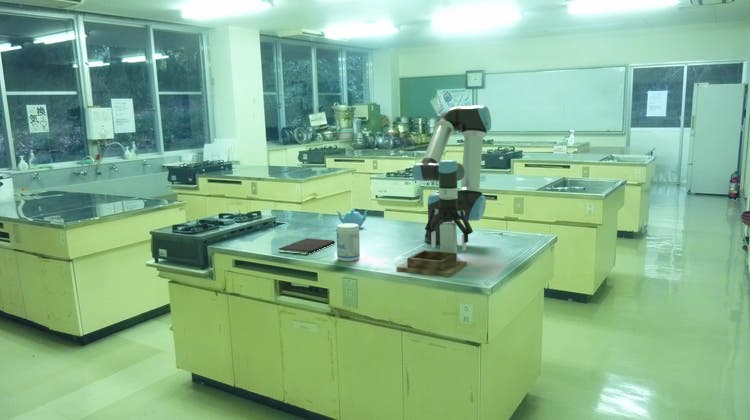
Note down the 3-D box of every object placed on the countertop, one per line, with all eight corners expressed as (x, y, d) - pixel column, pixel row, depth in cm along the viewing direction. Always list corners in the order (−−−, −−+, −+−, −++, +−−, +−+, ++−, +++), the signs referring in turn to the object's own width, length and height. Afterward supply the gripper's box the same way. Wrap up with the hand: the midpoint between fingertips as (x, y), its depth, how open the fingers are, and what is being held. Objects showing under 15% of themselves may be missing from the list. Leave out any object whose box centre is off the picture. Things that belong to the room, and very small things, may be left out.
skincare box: (454, 260, 221) (454, 225, 219) (439, 260, 223) (439, 224, 220) (457, 256, 229) (457, 221, 226) (443, 255, 231) (443, 221, 228)
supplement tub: (332, 259, 229) (331, 225, 226) (348, 255, 236) (346, 222, 233) (349, 263, 222) (348, 228, 220) (364, 258, 230) (363, 224, 227)
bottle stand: (396, 270, 209) (396, 258, 208) (416, 259, 224) (416, 248, 224) (449, 277, 198) (449, 264, 197) (467, 265, 213) (467, 253, 213)
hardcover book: (278, 253, 246) (278, 248, 245) (307, 242, 266) (307, 238, 265) (308, 256, 238) (308, 251, 238) (335, 245, 259) (335, 240, 258)
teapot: (369, 227, 296) (369, 209, 295) (351, 231, 288) (350, 212, 286) (354, 224, 306) (353, 207, 304) (336, 228, 297) (335, 210, 295)
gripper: (416, 197, 225) (417, 247, 228) (474, 200, 212) (474, 253, 216) (424, 195, 231) (424, 244, 234) (480, 198, 219) (480, 249, 222)
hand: (448, 248), depth 225 cm, fingers open, 13 cm apart
